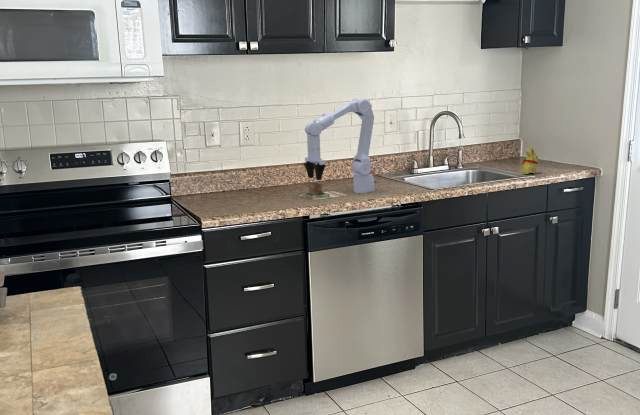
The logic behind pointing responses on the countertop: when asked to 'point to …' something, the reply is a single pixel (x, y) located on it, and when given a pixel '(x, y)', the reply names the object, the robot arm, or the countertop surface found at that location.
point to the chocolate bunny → (530, 161)
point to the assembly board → (323, 195)
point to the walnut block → (315, 189)
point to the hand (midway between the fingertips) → (314, 178)
